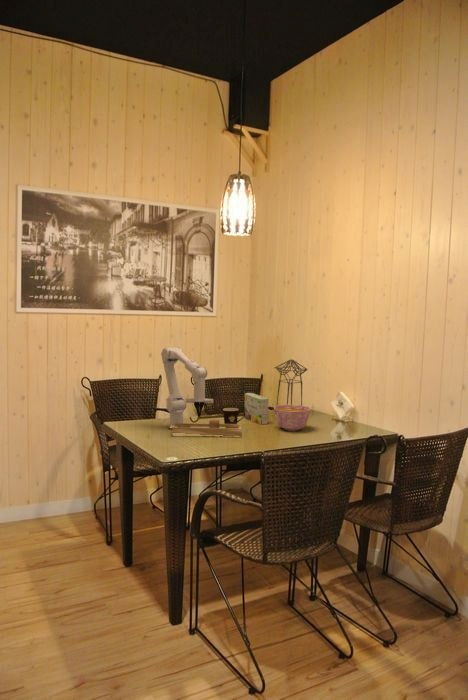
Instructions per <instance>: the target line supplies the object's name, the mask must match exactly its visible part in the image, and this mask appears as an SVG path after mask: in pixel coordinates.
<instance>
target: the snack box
mask: <svg viewBox="0 0 468 700" xmlns="http://www.w3.org/2000/svg"><path fill="white" fill-rule="evenodd" d="M244 413H245V416H244V418H245V419H247V420H249V421H251V420H252V422H253V421H254V422H253V423H255V422H256V423H255V424H257V425H260V424H261V425H260V426H262V424H264V425H269V398H268V397H265V396H262V395H260V394H256V393H253V392H246V393H244Z"/></svg>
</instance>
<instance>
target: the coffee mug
mask: <svg viewBox="0 0 468 700" xmlns="http://www.w3.org/2000/svg"><path fill="white" fill-rule="evenodd" d="M222 412H223V413H222V415H223V422H224V423H223V424H238V423H239V422H240V421H242V420H243V419H244V418H245V411H242V410H241V411H239V408H237V407H225V408H222ZM241 413H243V416H242V417H241V418H240V419H238V417H239V414H241Z"/></svg>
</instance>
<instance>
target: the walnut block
mask: <svg viewBox="0 0 468 700" xmlns="http://www.w3.org/2000/svg"><path fill="white" fill-rule="evenodd" d="M208 424H209V428H219V424H220V419H219V420H218V419H216V420H214V419H210V420H209V423H208Z"/></svg>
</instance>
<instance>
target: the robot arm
mask: <svg viewBox="0 0 468 700" xmlns="http://www.w3.org/2000/svg"><path fill="white" fill-rule="evenodd" d="M160 356H161V361H162V364H163V369H164V373H165V379H166V384H167V388H168V392H169V393H168V394H169V396H167V398H166V409H167V411H168V413H169V426H170V425H172V426H174V423H184V412H185V410H186V408H187V403H188V404H189V403H190V404H192V403H193V406H194V408H195V410H196V414H197V418H201V417H202V416H201V415H202V410H203V408H204V406H205V404H214V398H206V378H207V377H208V369H207V368H206V366H200V365H199V364H198V363H197V362H196V361H195V360H194V359H189V358H188V356H187V355H186V354H184V353H183V349H181V347H179V346H177V347H164V348H163V349H162V351H161V353H160ZM178 361H179V362H181V363H182V364H183V365H184V368H185V369H186V370H187V371H188V372H189V373H190V374H191V377H192V382H193V397H192V398H191V397H190V398H185V397H184V395H183V394H181V393H180V391H179V390H180V389H179V386H178V385H179V384H178V380H177V375H176V374H177V373H176V370H175V364H176V363H178Z"/></svg>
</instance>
